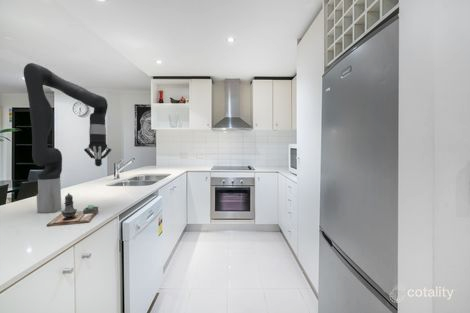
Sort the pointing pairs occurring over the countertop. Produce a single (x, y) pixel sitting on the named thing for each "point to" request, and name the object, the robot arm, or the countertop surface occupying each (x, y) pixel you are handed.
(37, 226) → the countertop surface
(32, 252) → the countertop surface
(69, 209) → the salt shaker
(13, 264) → the countertop surface
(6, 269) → the countertop surface
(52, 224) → the picture board
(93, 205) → the button
